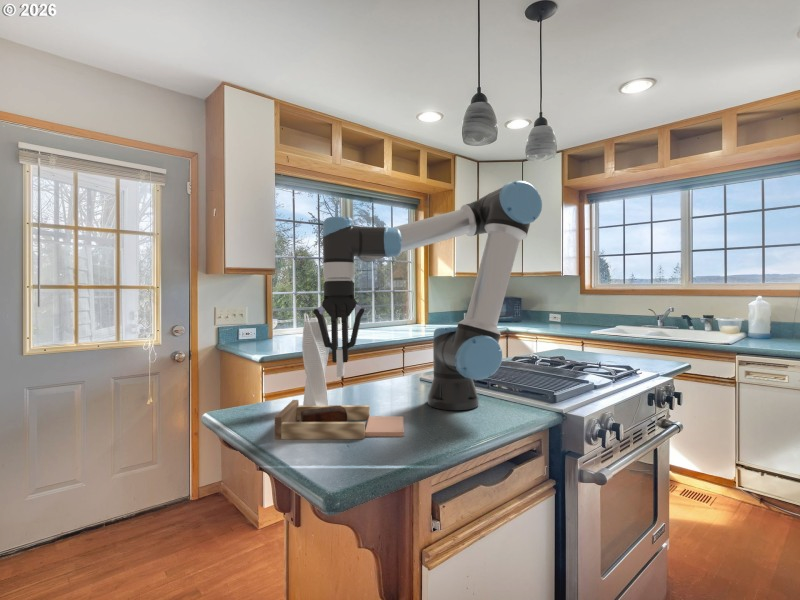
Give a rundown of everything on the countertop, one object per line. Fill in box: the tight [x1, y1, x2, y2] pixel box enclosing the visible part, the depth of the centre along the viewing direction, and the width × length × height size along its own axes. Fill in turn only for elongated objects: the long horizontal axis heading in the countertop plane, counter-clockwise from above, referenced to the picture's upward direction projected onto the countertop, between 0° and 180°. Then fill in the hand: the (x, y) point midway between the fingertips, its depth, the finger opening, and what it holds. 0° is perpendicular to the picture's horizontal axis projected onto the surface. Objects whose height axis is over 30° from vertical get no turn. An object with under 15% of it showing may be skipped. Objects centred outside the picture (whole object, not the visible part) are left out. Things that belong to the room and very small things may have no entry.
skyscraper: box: [301, 312, 330, 405], centre depth 124 cm, size 8×8×28 cm
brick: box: [300, 404, 348, 422], centre depth 104 cm, size 11×4×5 cm, turn 111°
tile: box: [365, 415, 405, 437], centre depth 106 cm, size 9×13×1 cm
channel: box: [274, 399, 371, 440], centre depth 106 cm, size 20×16×5 cm
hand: (340, 375), depth 106 cm, fingers closed
